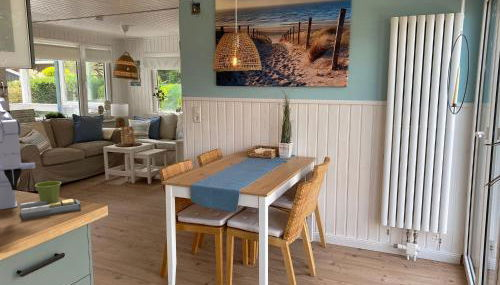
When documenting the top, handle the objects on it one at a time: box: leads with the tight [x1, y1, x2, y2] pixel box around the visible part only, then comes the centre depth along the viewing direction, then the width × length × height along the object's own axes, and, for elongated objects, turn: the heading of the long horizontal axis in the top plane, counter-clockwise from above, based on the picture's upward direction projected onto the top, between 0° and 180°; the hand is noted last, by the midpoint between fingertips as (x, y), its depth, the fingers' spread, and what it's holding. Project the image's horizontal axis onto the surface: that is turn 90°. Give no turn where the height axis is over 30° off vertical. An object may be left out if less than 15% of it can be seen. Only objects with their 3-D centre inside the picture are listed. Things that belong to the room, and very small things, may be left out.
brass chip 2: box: [60, 198, 74, 206], centre depth 152 cm, size 4×4×2 cm
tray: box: [47, 198, 82, 215], centre depth 151 cm, size 8×11×2 cm
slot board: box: [19, 200, 51, 220], centre depth 146 cm, size 9×9×4 cm
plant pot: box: [34, 180, 62, 204], centre depth 156 cm, size 9×9×9 cm
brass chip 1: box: [48, 200, 61, 208], centre depth 149 cm, size 4×4×2 cm
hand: (14, 189), depth 142 cm, fingers closed
